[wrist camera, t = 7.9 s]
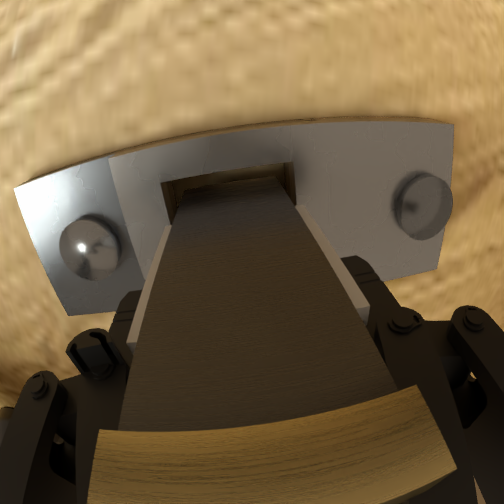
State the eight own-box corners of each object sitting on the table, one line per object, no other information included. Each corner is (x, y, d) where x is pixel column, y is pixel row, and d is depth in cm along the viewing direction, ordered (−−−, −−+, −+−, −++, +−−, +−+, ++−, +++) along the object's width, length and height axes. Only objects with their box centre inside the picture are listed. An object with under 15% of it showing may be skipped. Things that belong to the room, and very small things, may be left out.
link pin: (199, 270, 16) (190, 547, 4) (179, 186, 13) (85, 517, 2) (286, 256, 16) (375, 520, 4) (278, 171, 13) (457, 468, 2)
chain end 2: (165, 293, 18) (158, 326, 15) (123, 149, 14) (103, 161, 11) (418, 250, 18) (441, 274, 16) (428, 118, 14) (460, 126, 11)
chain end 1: (74, 304, 18) (65, 321, 16) (24, 182, 13) (7, 192, 12) (309, 270, 18) (318, 288, 17) (300, 119, 14) (311, 122, 12)
